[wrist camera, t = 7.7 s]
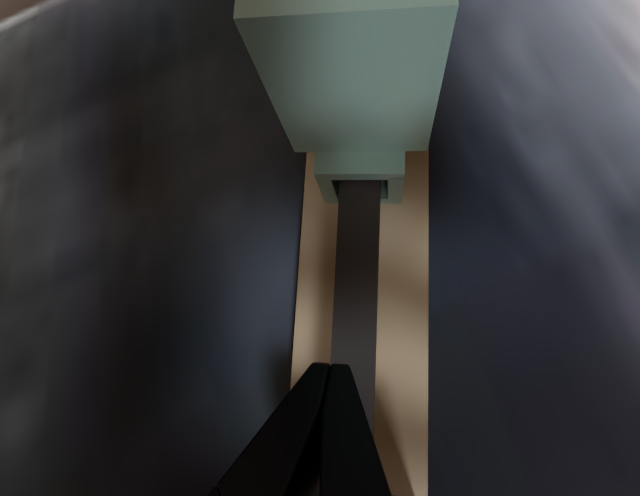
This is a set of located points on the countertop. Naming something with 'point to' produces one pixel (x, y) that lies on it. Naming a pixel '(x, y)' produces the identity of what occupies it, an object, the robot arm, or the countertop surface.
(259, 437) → the robot arm
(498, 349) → the countertop surface
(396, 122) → the grey-green notched block
